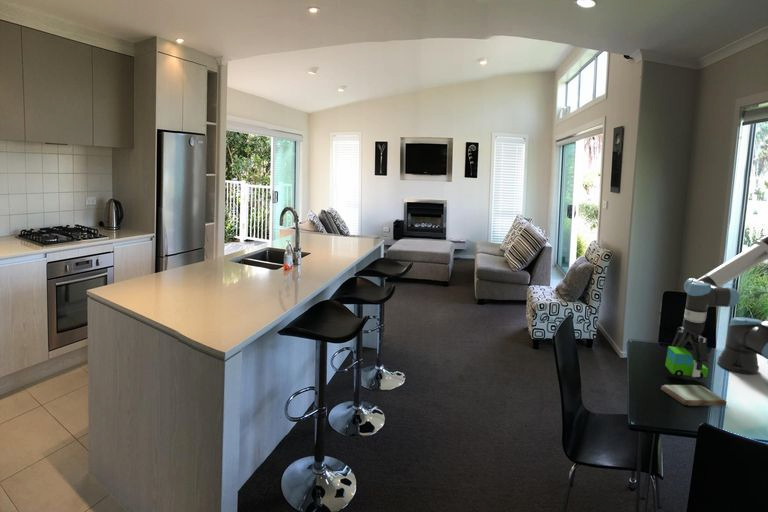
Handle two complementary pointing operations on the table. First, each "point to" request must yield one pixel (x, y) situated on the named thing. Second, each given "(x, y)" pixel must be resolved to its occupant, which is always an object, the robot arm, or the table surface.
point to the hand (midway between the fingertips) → (685, 370)
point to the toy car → (682, 362)
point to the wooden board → (693, 395)
